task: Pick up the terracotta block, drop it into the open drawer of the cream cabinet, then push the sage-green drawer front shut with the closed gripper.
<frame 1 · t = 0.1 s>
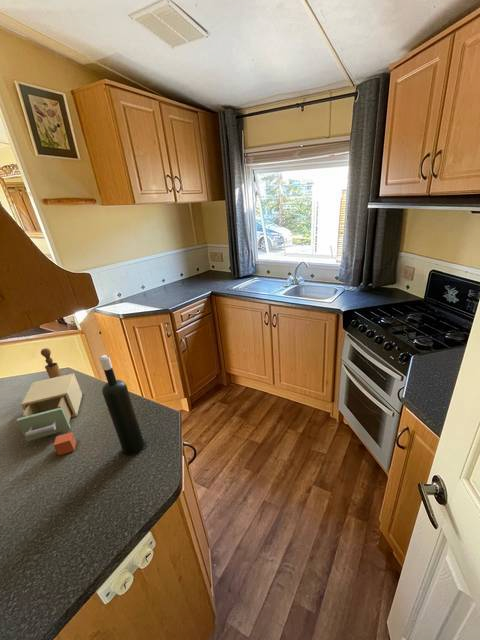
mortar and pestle: (61, 389, 116), on the countertop
cabinet: (59, 409, 103), on the countertop
drawer: (47, 416, 92), point 5 cm above the countertop, slide at 7.0 cm
block: (67, 448, 86), on the countertop
wine bottle: (134, 448, 85), on the countertop
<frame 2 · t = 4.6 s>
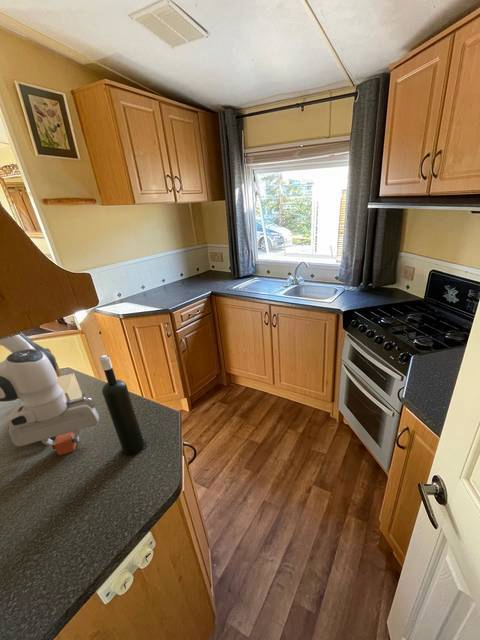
hand: (65, 444, 85), 2 cm above the countertop, tool pointing down, fingers closed on block, 4 cm apart
block: (67, 448, 86), on the countertop, touching gripper
everything else where it was.
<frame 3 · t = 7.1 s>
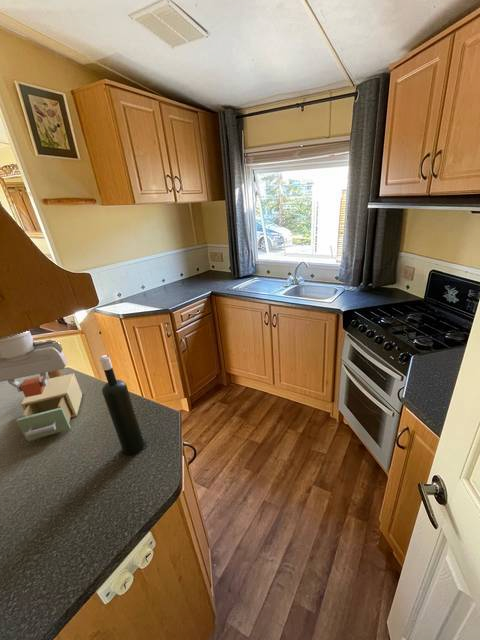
hand: (33, 387, 86), 17 cm above the countertop, tool pointing down, fingers closed on block, 4 cm apart
block: (35, 392, 87), point 15 cm above the countertop, touching gripper
everything else where it was.
when the fingers open (8 cm above the countertop, at t = 10.2 s): block stays where it is, resting on drawer.
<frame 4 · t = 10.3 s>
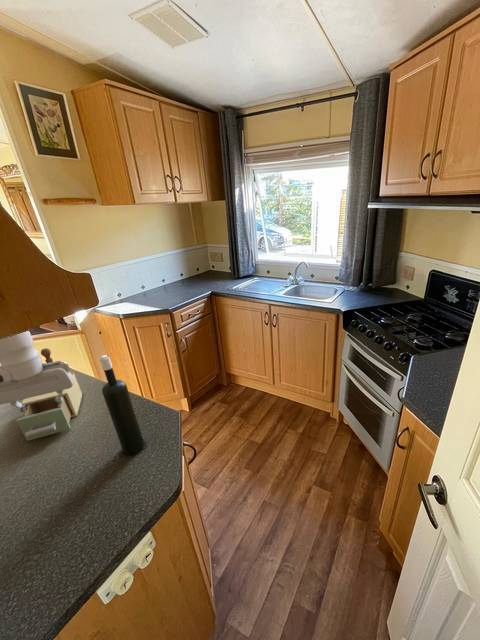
hand: (42, 406, 91), 9 cm above the countertop, tool pointing down, fingers open, 8 cm apart
drawer: (47, 416, 92), point 5 cm above the countertop, slide at 7.0 cm, touching block
block: (51, 423, 93), point 2 cm above the countertop, touching drawer
everything else where it was.
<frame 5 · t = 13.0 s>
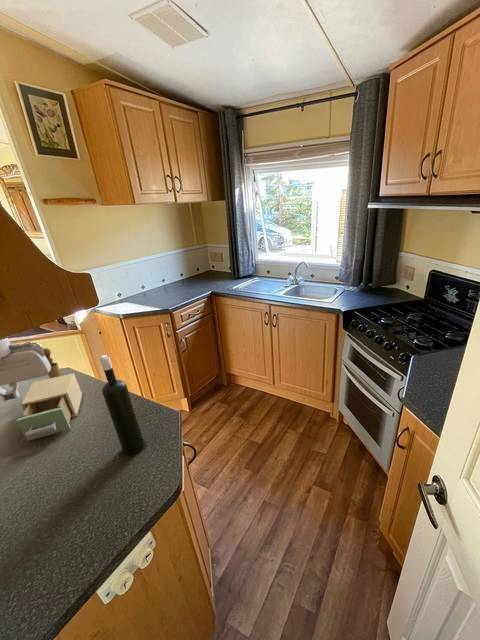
hand: (12, 398, 74), 21 cm above the countertop, tool pointing down, fingers closed
nothing on the countertop moved.
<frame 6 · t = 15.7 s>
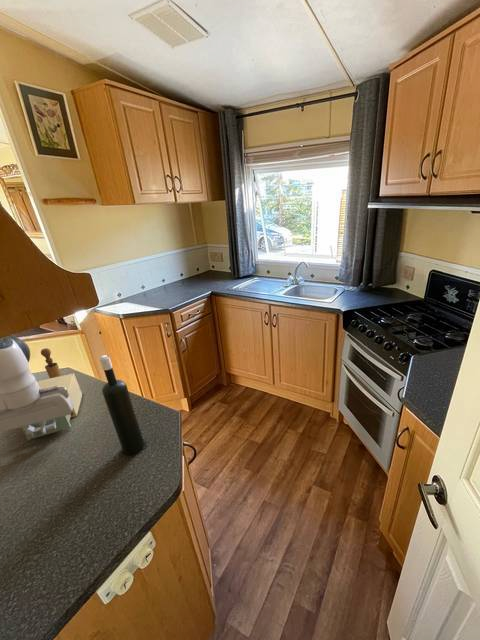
hand: (39, 433, 85), 5 cm above the countertop, tool pointing down, fingers closed, pressing on drawer
drawer: (48, 415, 93), point 5 cm above the countertop, slide at 6.4 cm, touching block, gripper
everything else where it was.
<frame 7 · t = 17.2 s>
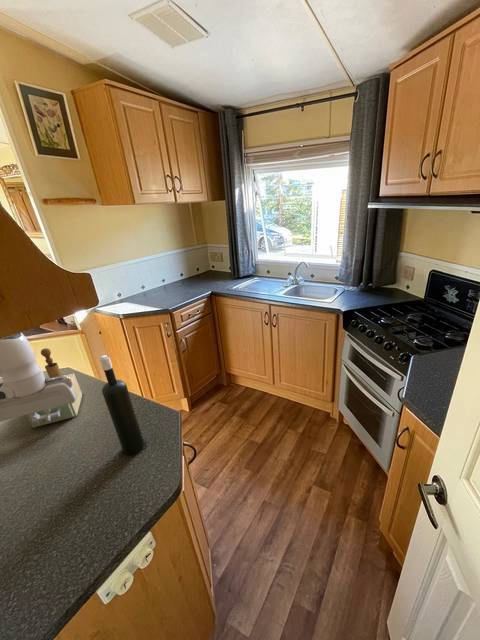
hand: (45, 421, 90), 5 cm above the countertop, tool pointing down, fingers closed, pressing on drawer
drawer: (52, 405, 98), point 5 cm above the countertop, slide at 0.2 cm, touching block, gripper
block: (55, 411, 99), point 2 cm above the countertop, touching drawer
everything else where it was.
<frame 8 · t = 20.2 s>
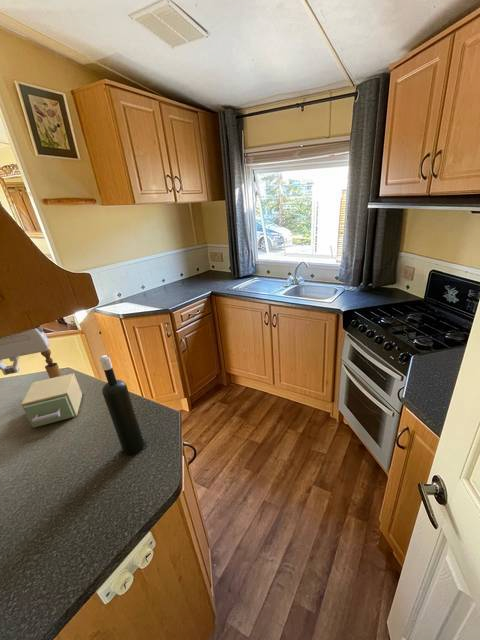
hand: (12, 372, 77), 25 cm above the countertop, tool pointing down, fingers closed
drawer: (52, 405, 98), point 5 cm above the countertop, slide at 0.2 cm, touching block
everything else where it was.
at the end: block inside the target area in the cabinet (4.2 cm from its centre), point 2.0 cm above the cabinet's base; drawer slide at 0.2 cm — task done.
